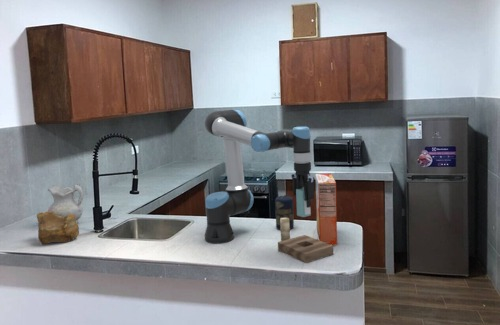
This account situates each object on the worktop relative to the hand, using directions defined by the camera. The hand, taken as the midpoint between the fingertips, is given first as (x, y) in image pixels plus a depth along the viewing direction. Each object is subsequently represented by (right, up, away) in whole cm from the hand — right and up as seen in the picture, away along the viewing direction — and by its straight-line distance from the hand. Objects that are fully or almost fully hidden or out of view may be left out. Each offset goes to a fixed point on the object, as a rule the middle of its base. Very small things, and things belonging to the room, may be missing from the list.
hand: (303, 212), depth 204 cm
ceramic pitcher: (-132, -15, +66) cm, 148 cm away
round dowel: (-7, -16, +17) cm, 25 cm away
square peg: (0, -1, 0) cm, 1 cm away
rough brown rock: (-128, -20, +37) cm, 135 cm away
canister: (-5, -13, +40) cm, 43 cm away
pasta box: (+14, -15, +23) cm, 30 cm away
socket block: (+1, -18, +3) cm, 19 cm away
